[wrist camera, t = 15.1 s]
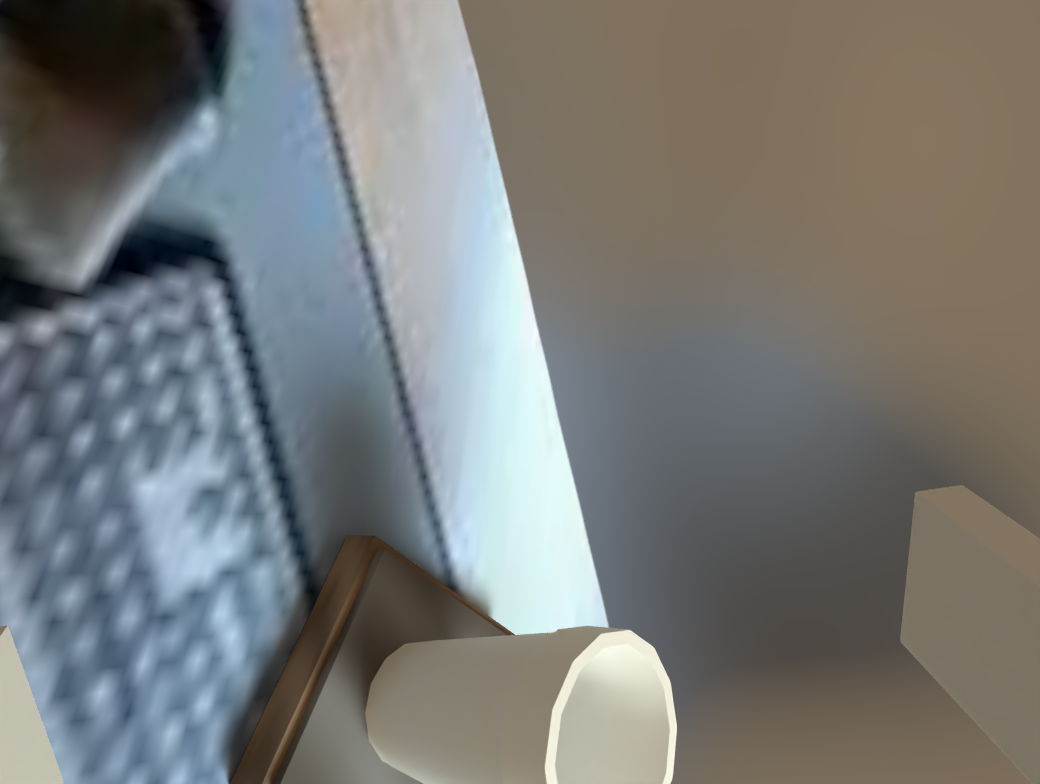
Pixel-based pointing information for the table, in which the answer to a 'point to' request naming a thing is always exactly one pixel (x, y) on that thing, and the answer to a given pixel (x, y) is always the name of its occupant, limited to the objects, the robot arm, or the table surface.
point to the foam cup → (526, 710)
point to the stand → (351, 667)
